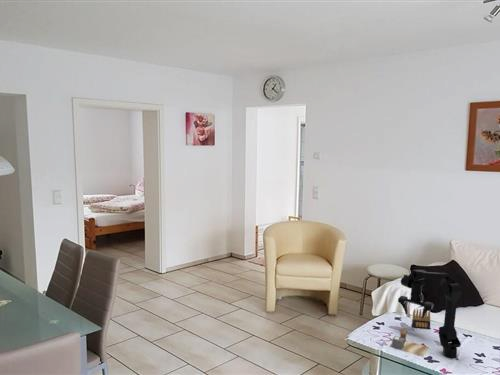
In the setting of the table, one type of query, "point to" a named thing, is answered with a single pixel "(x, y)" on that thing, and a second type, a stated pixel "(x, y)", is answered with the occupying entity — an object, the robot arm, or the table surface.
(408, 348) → the board
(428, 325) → the ammunition clip
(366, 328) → the table surface
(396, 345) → the box
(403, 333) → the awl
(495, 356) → the table surface
